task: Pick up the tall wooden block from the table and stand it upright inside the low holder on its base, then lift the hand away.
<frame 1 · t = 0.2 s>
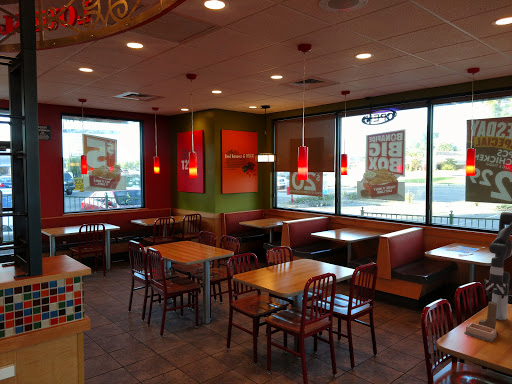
hand: (494, 297, 257), 18 cm above the table, tool pointing down, fingers open, 8 cm apart
wooden block: (486, 329, 249), on the table
block holder: (480, 334, 240), on the table
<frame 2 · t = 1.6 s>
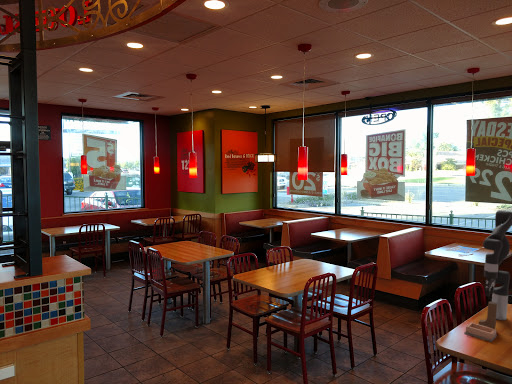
hand: (489, 294, 247), 23 cm above the table, tool pointing down, fingers open, 8 cm apart
nothing on the table moved.
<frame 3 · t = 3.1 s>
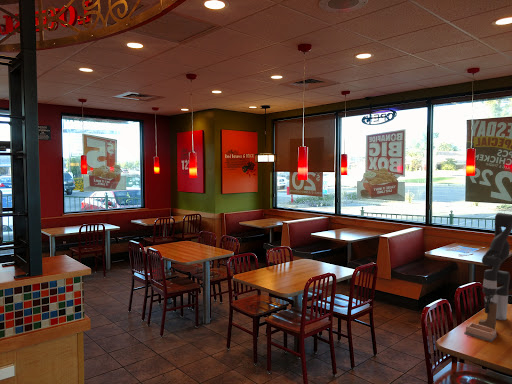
hand: (487, 312, 248), 11 cm above the table, tool pointing down, fingers closed on wooden block, 4 cm apart
wooden block: (486, 329, 249), on the table, touching gripper
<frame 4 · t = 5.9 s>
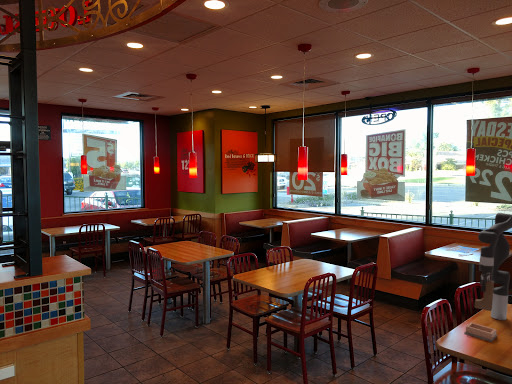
hand: (484, 290, 238), 28 cm above the table, tool pointing down, fingers closed on wooden block, 4 cm apart
wooden block: (483, 308, 239), point 17 cm above the table, touching gripper
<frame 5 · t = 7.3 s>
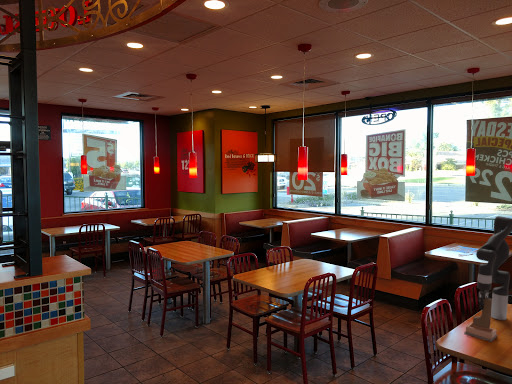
hand: (482, 308, 238), 17 cm above the table, tool pointing down, fingers closed on wooden block, 4 cm apart
wooden block: (481, 326, 239), point 6 cm above the table, touching gripper
when the fingers open (13 cm above the table, at t = 8.5 s): wooden block stays where it is, resting on block holder.
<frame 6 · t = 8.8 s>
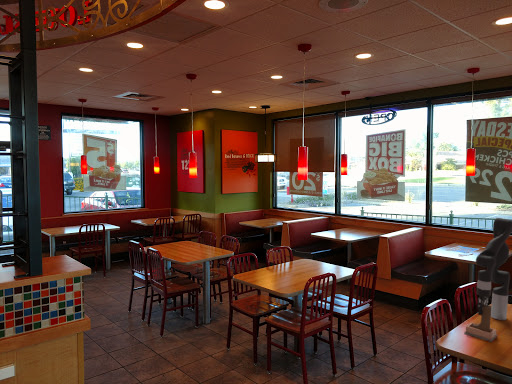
hand: (482, 313, 239), 14 cm above the table, tool pointing down, fingers open, 7 cm apart
wooden block: (480, 333, 240), point 1 cm above the table, touching block holder
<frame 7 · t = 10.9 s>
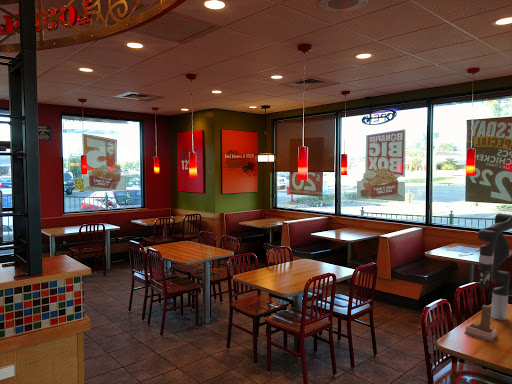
hand: (484, 287, 237), 30 cm above the table, tool pointing down, fingers open, 8 cm apart
nothing on the table moved.
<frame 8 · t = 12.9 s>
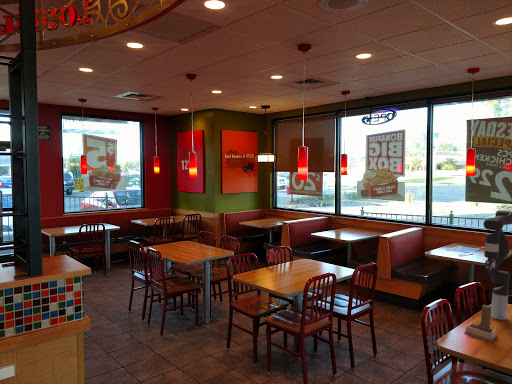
hand: (489, 275, 245), 36 cm above the table, tool pointing down, fingers open, 8 cm apart
nothing on the table moved.
at the end: wooden block 0.1 cm off-centre on the block holder, point 0.8 cm above the block holder's base; wooden block tilted 0°; the gripper is holding nothing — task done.
